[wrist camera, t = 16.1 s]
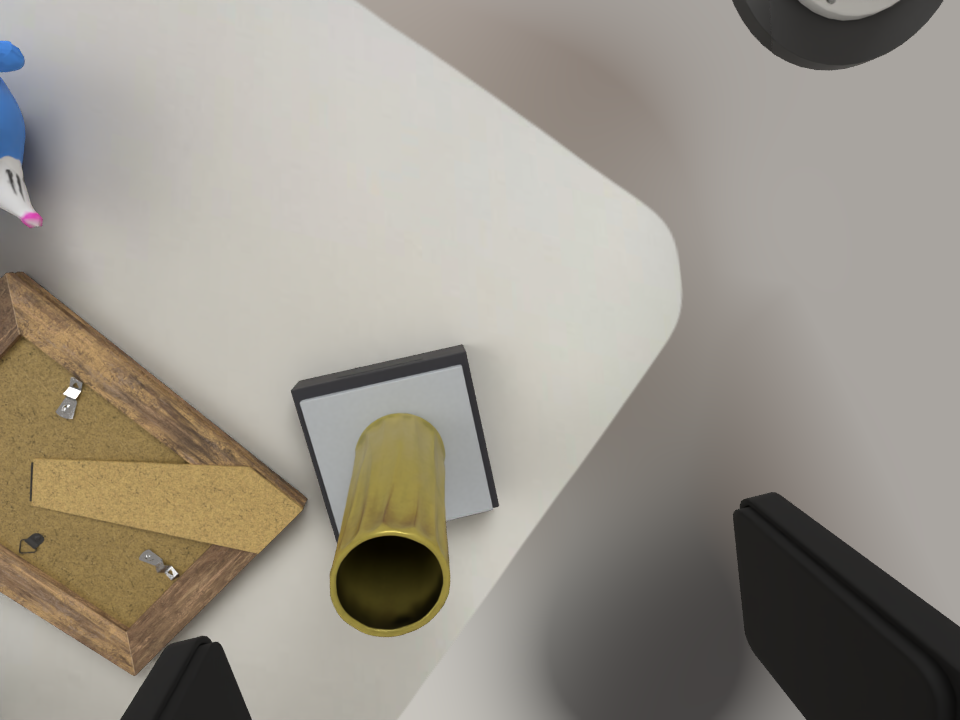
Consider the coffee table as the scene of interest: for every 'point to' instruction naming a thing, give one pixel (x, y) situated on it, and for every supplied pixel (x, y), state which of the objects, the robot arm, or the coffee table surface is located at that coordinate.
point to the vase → (393, 530)
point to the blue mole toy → (13, 145)
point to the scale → (398, 389)
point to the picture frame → (116, 487)
